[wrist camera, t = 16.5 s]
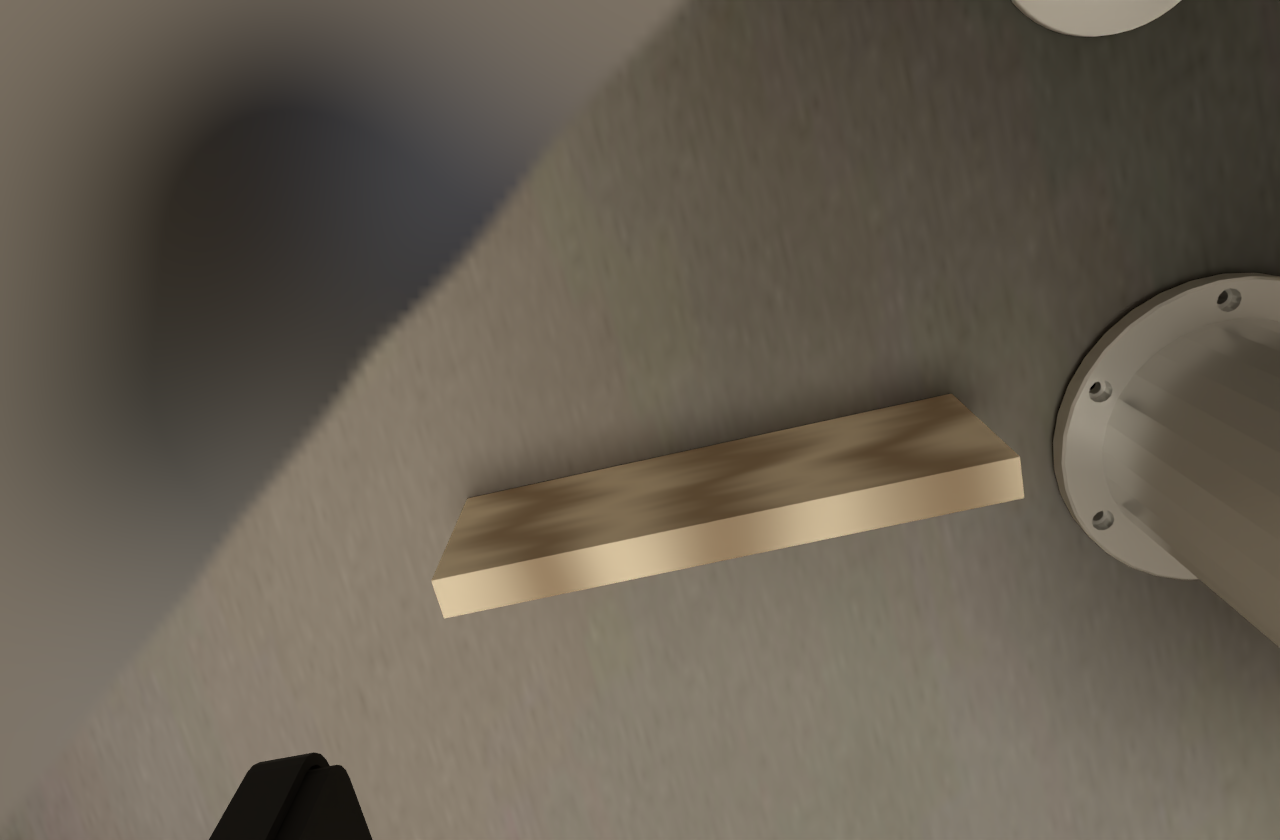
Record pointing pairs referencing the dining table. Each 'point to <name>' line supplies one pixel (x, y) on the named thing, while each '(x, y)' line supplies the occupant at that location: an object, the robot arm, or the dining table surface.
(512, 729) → the dining table surface
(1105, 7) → the white mat
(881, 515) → the birch plank
